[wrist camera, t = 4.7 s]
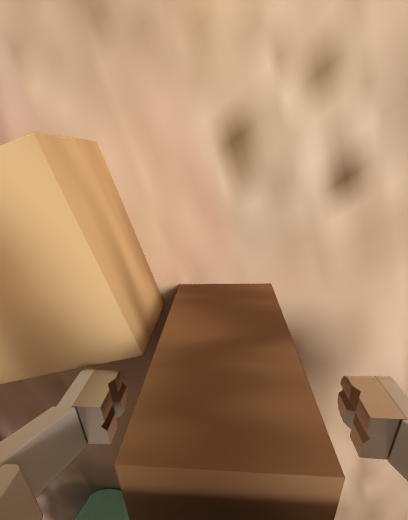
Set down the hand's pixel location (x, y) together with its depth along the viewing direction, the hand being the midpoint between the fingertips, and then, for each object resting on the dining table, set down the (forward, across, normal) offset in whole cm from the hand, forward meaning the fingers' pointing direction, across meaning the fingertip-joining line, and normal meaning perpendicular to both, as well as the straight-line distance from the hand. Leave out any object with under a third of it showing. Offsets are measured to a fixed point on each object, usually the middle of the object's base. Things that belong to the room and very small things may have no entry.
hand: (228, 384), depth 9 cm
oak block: (+4, +8, -4) cm, 10 cm away
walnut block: (+4, 0, 0) cm, 4 cm away
